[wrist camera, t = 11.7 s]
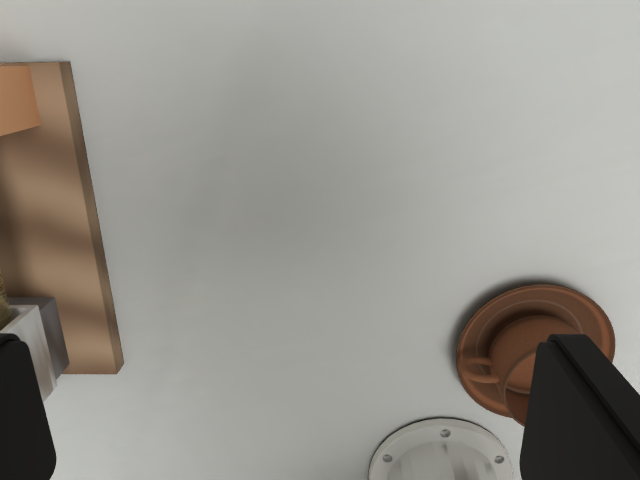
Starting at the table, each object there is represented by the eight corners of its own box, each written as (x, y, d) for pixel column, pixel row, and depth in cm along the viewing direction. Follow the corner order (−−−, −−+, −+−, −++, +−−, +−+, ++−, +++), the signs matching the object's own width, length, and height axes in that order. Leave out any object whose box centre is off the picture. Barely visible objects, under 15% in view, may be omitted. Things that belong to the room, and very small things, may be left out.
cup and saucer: (470, 418, 44) (490, 474, 38) (435, 300, 40) (451, 343, 35) (613, 382, 42) (656, 435, 37) (590, 255, 39) (634, 292, 33)
